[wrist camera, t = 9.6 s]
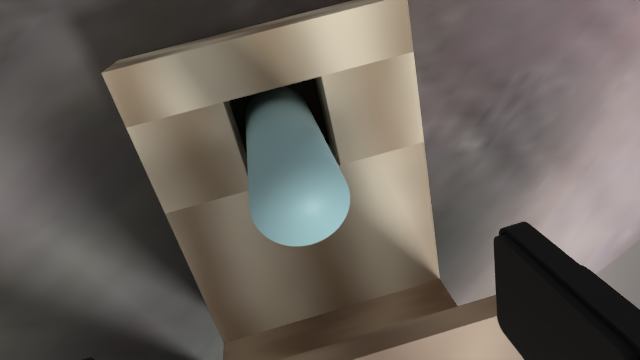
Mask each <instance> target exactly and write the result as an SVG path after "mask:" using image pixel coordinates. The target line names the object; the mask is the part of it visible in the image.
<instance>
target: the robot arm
mask: <svg viewBox="0 0 640 360" xmlns="http://www.w3.org/2000/svg"><path fill="white" fill-rule="evenodd" d="M494 259H495V281H496V304H497V320H498V323H499V326H500V328H501V330H502V332H503V333H504V334H505V336H506V337H507V338H508V340H509V341H510V342H511V343H512V345H513V346H514V347H515V348H516V350H517V351H518V352H519V354H520V355H521V356H522V357H523V359H524V360H640V310H639V309H638V308H637V307H636V306H634V305H633V304H632V303H631V302H629V301H628V300H627V299H626V298H624V297H623V296H622V295H621V294H619V293H618V292H617V291H616V290H614V289H613V288H612V287H611V286H609V285H608V284H607V283H606V282H604V281H603V280H602V279H600V278H599V277H598V276H597V275H596V274H594V273H593V272H592V271H591V270H589V269H587V268H586V267H584V266H582V265H579V264H578V263H577V262H576V261H574V260H573V259H572V258H571V257H569V256H568V255H567V254H566V253H565V252H563V251H562V250H561V249H560V248H558V247H557V246H556V245H555V244H553V243H552V242H551V241H550V240H548V239H547V238H546V237H545V236H543V235H542V234H541V233H540V232H539V231H537V230H536V229H535V228H534V227H532V226H531V225H530V224H528V223H527V222H520V223H517V224H514V225H511V226H508V227H504V228H502V229H500V231H499V236H496V237H495V238H494ZM82 360H95V359H93V358H91V357H90V358H86V359H82Z"/></svg>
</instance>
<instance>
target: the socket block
mask: <svg viewBox="0 0 640 360" xmlns="http://www.w3.org/2000/svg"><path fill="white" fill-rule="evenodd" d="M101 74H102V76H103V78H104V80H105V82H106V85H107V87H108V89H109V91H110V93H111V96H112V98H113V100H114V102H115V104H116V107H117V109H118V111H119V113H120V115H121V118H122V120H123V122H124V124H125V126H126V129H127V131H128V133H129V135H130V137H131V140H132V142H133V144H134V146H135V149H136V151H137V153H138V155H139V157H140V160H141V162H142V164H143V166H144V168H145V171H146V173H147V175H148V177H149V179H150V182H151V184H152V186H153V188H154V190H155V193H156V195H157V197H158V199H159V201H160V204H161V206H162V208H163V210H164V212H165V215H166V217H167V219H168V221H169V223H170V226H171V228H172V230H173V232H174V234H175V237H176V239H177V241H178V243H179V245H180V248H181V250H182V252H183V254H184V256H185V259H186V261H187V263H188V265H189V267H190V270H191V272H192V274H193V276H194V278H195V281H196V283H197V285H198V287H199V290H200V292H201V294H202V296H203V298H204V301H205V303H206V305H207V307H208V309H209V312H210V314H211V316H212V318H213V320H214V323H215V325H216V327H217V329H218V331H219V334H220V336H221V338H222V340H223V342H224V354H223V360H523V357H522V356H521V355H520V354H519V352H518V351H517V350H516V348H515V347H514V346H513V345H512V343H511V342H510V341H509V340H508V338H507V337H506V336H505V334H504V333H503V332H502V330H501V328H500V326H499V323H498V320H497V304H496V295H494V296H491V297H488V298H484V299H481V300H478V301H474V302H471V303H468V304H464V305H461V306H457V305H456V303H455V302H454V300H453V299H452V297H451V296H450V294H449V293H448V291H447V289H446V288H445V286H444V285H443V283H442V282H441V280H440V277H439V268H438V259H437V251H436V242H435V233H434V225H433V216H432V208H431V199H430V190H429V182H428V173H427V164H426V156H425V147H424V138H423V130H422V121H421V113H420V104H419V95H418V87H417V78H416V69H415V61H414V52H413V43H412V35H411V26H410V18H409V9H408V0H352V1H348V2H344V3H340V4H336V5H332V6H329V7H325V8H321V9H317V10H313V11H309V12H305V13H301V14H297V15H293V16H289V17H285V18H281V19H278V20H274V21H270V22H266V23H262V24H258V25H254V26H250V27H246V28H242V29H238V30H234V31H231V32H227V33H223V34H219V35H215V36H211V37H207V38H203V39H199V40H195V41H191V42H187V43H184V44H180V45H176V46H172V47H168V48H164V49H160V50H156V51H152V52H148V53H144V54H140V55H136V56H133V57H129V58H125V59H121V60H118V61H116V62H115V63H114V64H112V65H111V66H110V67H108V68H107V69H106V70H104V71H103V72H102V73H101ZM313 78H315V81H316V85H317V90H318V94H319V98H320V103H321V107H322V112H323V116H324V121H325V125H326V129H327V134H328V138H329V143H330V145H328V147H329V148H330V150H331V152H332V154H333V156H334V158H335V160H336V162H337V164H338V166H339V168H340V170H341V172H342V174H343V176H344V178H345V180H346V182H347V184H348V187H349V191H350V206H349V210H348V213H347V215H346V218H345V219H344V221H343V223H342V224H341V225H340V227H339V228H338V229H337V230H336V231H335V232H334V233H333V234H331V235H330V236H329V237H327V238H325V239H324V240H322V241H319V242H317V243H314V244H311V245H307V246H286V245H282V244H279V243H276V242H274V241H272V240H270V239H268V238H267V237H265V236H264V235H263V234H262V233H261V232H260V231H259V230H258V229H257V227H256V226H255V224H254V222H253V220H252V217H251V214H250V206H249V186H248V166H247V154H246V151H245V148H244V145H243V142H242V139H241V136H240V133H239V130H238V127H237V124H236V121H235V118H234V115H233V112H232V108H231V105H230V102H229V100H233V99H237V98H241V97H244V96H248V95H252V94H256V93H260V92H263V91H267V90H271V89H275V88H279V87H282V86H286V85H290V84H294V83H297V82H301V81H305V80H309V79H313Z"/></svg>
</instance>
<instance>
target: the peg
mask: <svg viewBox="0 0 640 360" xmlns="http://www.w3.org/2000/svg"><path fill="white" fill-rule="evenodd" d="M245 125H246V145H247V166H248V186H249V206H250V214H251V217H252V220H253V222H254V224H255V226H256V227H257V229H258V230H259V231H260V232H261V233H262V234H263V235H264V236H265V237H267V238H268V239H270V240H272V241H274V242H276V243H279V244H282V245H286V246H307V245H311V244H314V243H317V242H319V241H322V240H324V239H325V238H327V237H329V236H330V235H331V234H333V233H334V232H335V231H336V230H337V229H338V228H339V227H340V225H341V224H342V223H343V221H344V219H345V218H346V215H347V213H348V210H349V206H350V191H349V187H348V184H347V182H346V180H345V178H344V176H343V174H342V172H341V170H340V168H339V166H338V164H337V162H336V160H335V158H334V156H333V154H332V152H331V150H330V148H329V147H328V145H327V143H326V141H325V139H324V137H323V135H322V133H321V131H320V129H319V127H318V125H317V123H316V121H315V119H314V117H313V115H312V113H311V111H310V109H309V107H308V105H307V103H306V102H305V100H304V99H303V97H302V96H301V95H300V94H299V93H297V92H296V91H294V90H292V89H290V88H287V87H279V88H275V89H271V90H267V91H263V92H260V93H257V94H256V95H255V96H254V97H253V98H252V99H251V101H250V102H249V104H248V106H247V109H246V114H245Z"/></svg>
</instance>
